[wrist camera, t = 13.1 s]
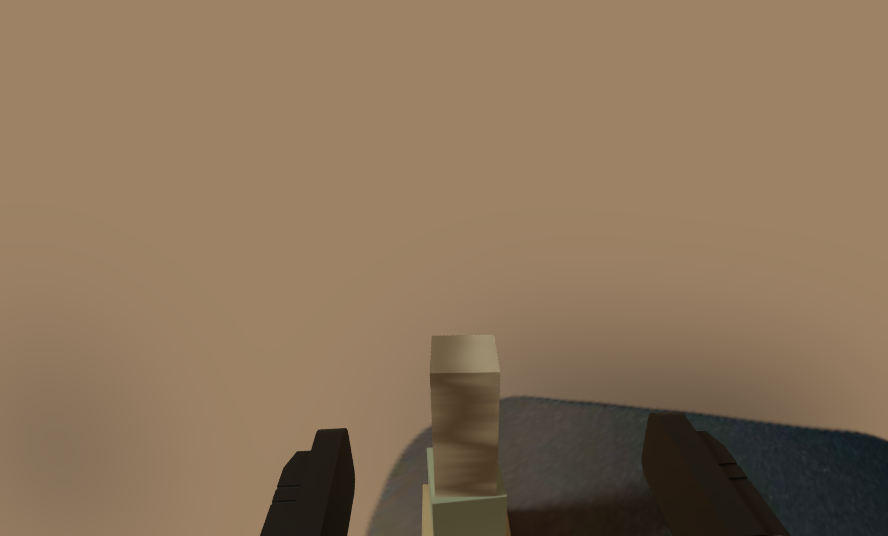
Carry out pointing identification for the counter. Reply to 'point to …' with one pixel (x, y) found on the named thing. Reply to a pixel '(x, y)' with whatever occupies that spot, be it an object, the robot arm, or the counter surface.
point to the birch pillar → (465, 415)
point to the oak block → (426, 515)
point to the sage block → (467, 510)
